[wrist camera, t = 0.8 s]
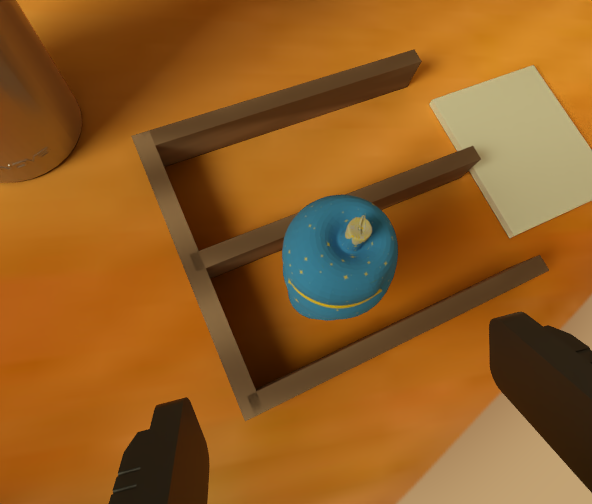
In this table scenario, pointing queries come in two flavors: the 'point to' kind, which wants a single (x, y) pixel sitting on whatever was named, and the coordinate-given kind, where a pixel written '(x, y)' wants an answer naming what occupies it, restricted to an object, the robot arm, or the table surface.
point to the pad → (519, 148)
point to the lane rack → (269, 239)
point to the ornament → (338, 257)
